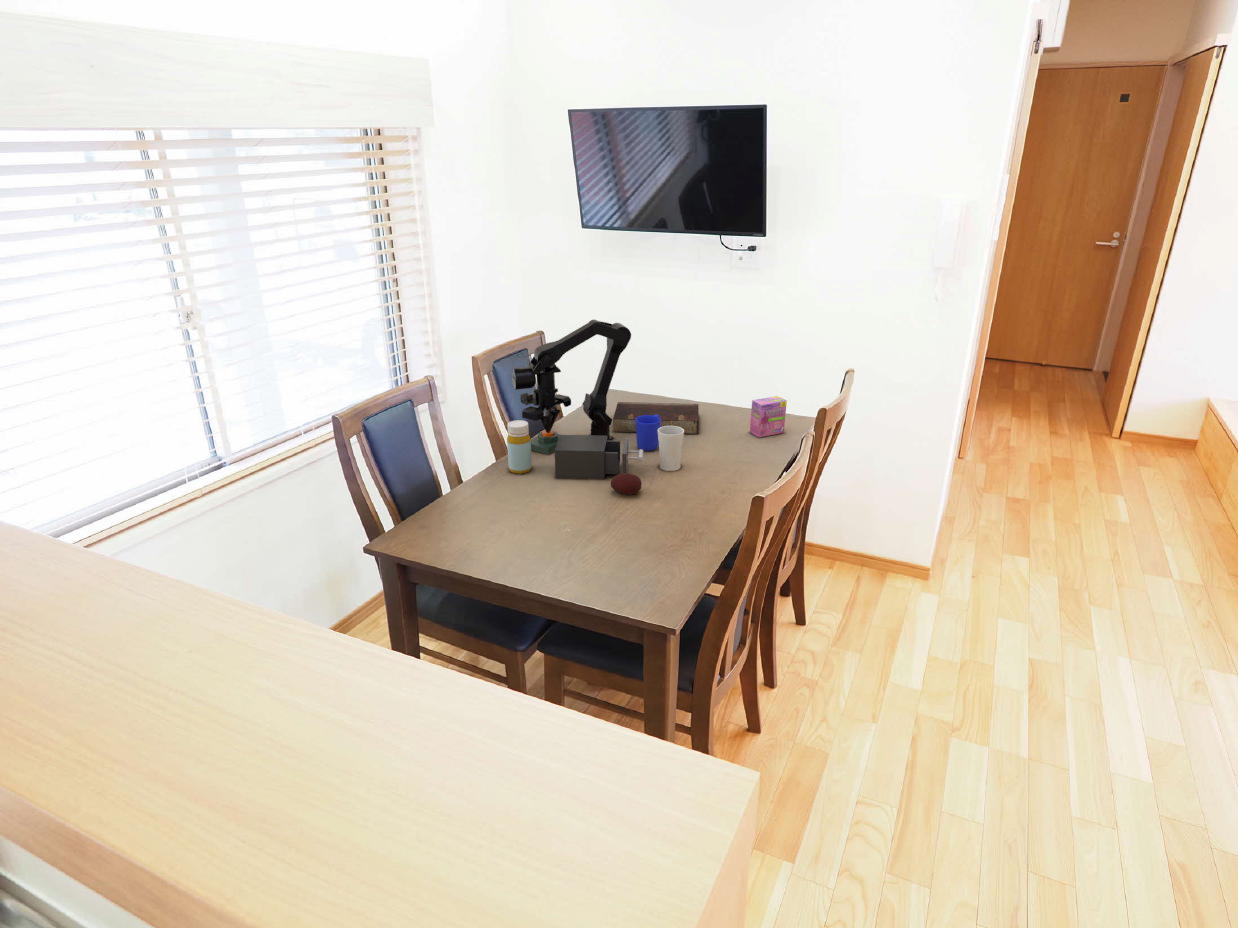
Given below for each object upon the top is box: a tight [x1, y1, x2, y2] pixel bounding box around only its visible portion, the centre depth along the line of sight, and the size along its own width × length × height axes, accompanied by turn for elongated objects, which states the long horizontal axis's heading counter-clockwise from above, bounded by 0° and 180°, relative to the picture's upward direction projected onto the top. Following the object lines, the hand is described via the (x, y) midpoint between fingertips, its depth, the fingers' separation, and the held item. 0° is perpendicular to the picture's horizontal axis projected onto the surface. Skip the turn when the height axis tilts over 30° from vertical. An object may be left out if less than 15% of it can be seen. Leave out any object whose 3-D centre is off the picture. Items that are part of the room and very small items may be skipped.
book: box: [612, 401, 700, 434], centre depth 275 cm, size 29×19×5 cm, turn 85°
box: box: [749, 395, 788, 438], centre depth 265 cm, size 10×6×12 cm, turn 114°
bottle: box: [506, 419, 533, 475], centre depth 237 cm, size 7×7×15 cm
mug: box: [635, 415, 661, 452], centre depth 255 cm, size 8×12×10 cm
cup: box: [658, 426, 685, 472], centre depth 239 cm, size 8×8×12 cm
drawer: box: [604, 438, 644, 475], centre depth 237 cm, size 18×11×7 cm, turn 86°
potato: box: [610, 472, 643, 495], centre depth 223 cm, size 8×9×6 cm
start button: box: [541, 429, 555, 437], centre depth 256 cm, size 4×4×2 cm
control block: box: [531, 430, 562, 455], centre depth 257 cm, size 12×9×4 cm
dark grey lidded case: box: [553, 434, 607, 480], centre depth 237 cm, size 15×13×9 cm
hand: (548, 432), depth 256 cm, fingers closed, pressing on start button
